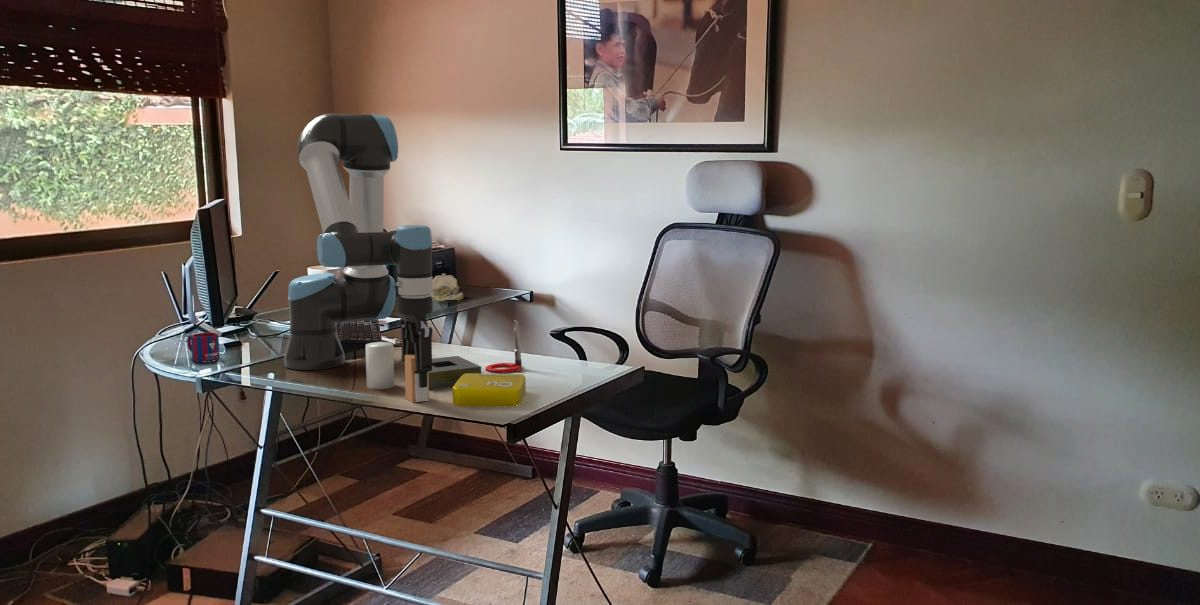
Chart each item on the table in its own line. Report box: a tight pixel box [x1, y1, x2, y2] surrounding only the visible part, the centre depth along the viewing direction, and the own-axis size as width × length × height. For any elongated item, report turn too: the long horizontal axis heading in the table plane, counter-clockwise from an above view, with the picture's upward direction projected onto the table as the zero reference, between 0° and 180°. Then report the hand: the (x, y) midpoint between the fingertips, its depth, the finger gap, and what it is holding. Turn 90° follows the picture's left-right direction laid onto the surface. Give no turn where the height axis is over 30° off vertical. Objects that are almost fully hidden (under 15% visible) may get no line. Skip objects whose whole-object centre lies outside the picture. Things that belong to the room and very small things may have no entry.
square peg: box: [404, 354, 430, 403], centre depth 207 cm, size 4×4×10 cm
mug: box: [186, 331, 221, 363], centre depth 246 cm, size 7×10×7 cm
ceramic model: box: [430, 273, 464, 302], centre depth 355 cm, size 14×11×10 cm
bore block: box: [429, 355, 482, 390], centre depth 226 cm, size 14×14×4 cm
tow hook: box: [485, 319, 523, 374], centre depth 237 cm, size 8×13×9 cm
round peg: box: [365, 341, 395, 390], centre depth 219 cm, size 6×6×10 cm
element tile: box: [452, 372, 527, 408], centre depth 210 cm, size 15×15×5 cm
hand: (417, 397), depth 208 cm, fingers open, 5 cm apart
